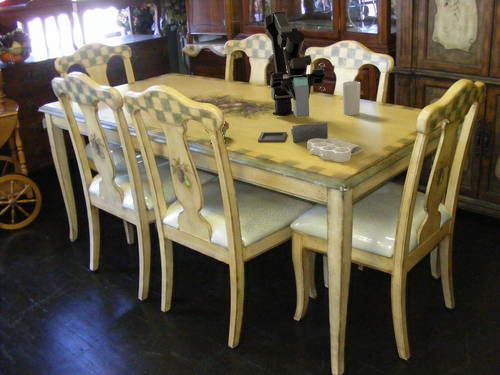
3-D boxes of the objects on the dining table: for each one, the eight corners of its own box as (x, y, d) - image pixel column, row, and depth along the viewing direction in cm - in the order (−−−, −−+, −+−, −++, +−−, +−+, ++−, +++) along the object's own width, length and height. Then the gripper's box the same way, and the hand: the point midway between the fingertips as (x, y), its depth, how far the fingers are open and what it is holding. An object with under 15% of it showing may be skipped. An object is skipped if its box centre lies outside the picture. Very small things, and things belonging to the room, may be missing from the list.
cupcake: (206, 136, 219) (203, 104, 215) (229, 134, 220) (226, 102, 215) (206, 143, 211) (203, 109, 207) (230, 141, 212) (228, 107, 207)
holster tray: (261, 135, 216) (261, 132, 216) (286, 135, 215) (286, 131, 214) (258, 143, 208) (258, 139, 207) (284, 142, 206) (283, 139, 206)
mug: (363, 114, 234) (363, 83, 230) (347, 116, 232) (347, 85, 228) (351, 108, 243) (351, 79, 239) (336, 110, 241) (336, 81, 237)
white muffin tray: (368, 156, 190) (332, 166, 183) (331, 143, 204) (297, 152, 197) (368, 146, 189) (332, 156, 182) (331, 133, 203) (296, 142, 196)
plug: (293, 114, 213) (292, 77, 208) (306, 113, 213) (305, 76, 208) (296, 117, 209) (295, 80, 204) (309, 116, 209) (308, 79, 204)
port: (286, 135, 214) (285, 119, 212) (319, 131, 216) (318, 115, 214) (293, 143, 205) (293, 126, 202) (327, 140, 206) (327, 123, 204)
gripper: (270, 49, 205) (278, 88, 199) (323, 45, 207) (332, 83, 201) (266, 68, 215) (274, 106, 209) (317, 64, 217) (326, 101, 211)
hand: (301, 98), depth 207 cm, fingers closed on plug, 4 cm apart
